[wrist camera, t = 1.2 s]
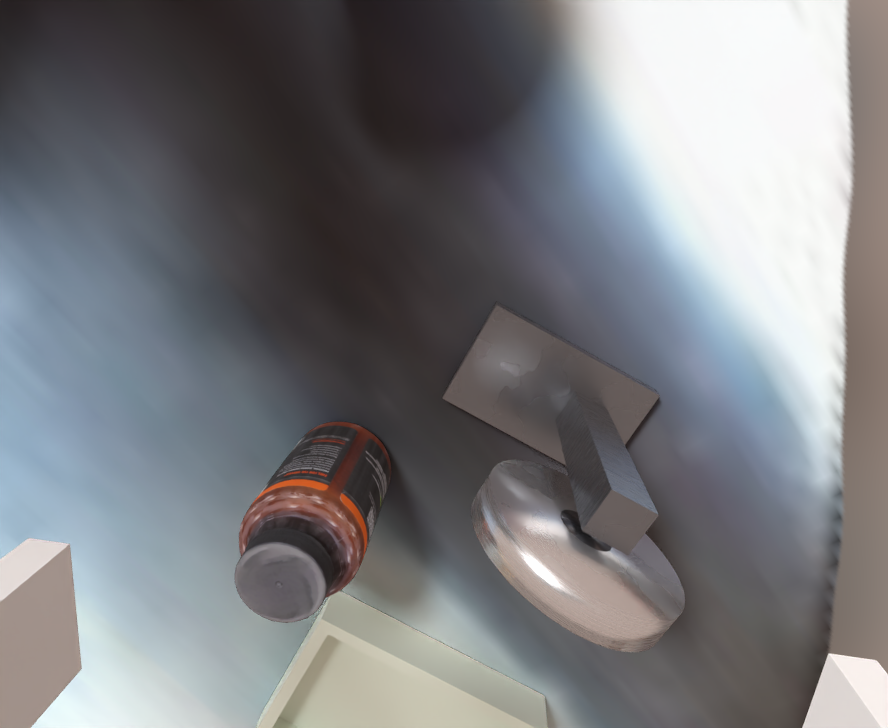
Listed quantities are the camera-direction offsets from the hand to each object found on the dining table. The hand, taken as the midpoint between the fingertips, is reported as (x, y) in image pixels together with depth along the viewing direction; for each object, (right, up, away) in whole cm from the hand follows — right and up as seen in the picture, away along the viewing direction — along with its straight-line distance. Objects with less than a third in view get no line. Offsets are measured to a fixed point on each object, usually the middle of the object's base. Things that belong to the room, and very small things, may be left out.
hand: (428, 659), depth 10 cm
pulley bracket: (+6, +4, +23) cm, 24 cm away
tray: (-3, -18, +30) cm, 35 cm away
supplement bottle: (-6, -1, +26) cm, 26 cm away
